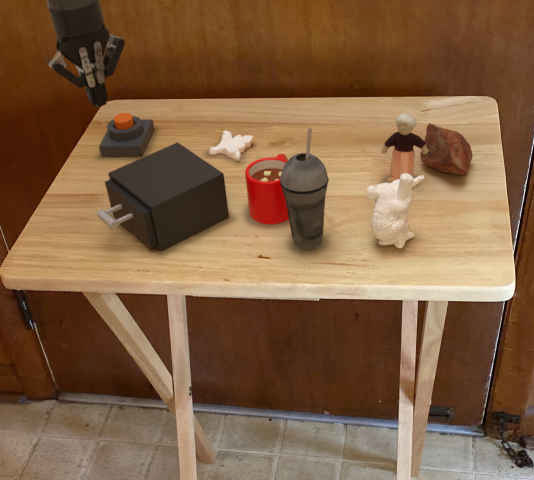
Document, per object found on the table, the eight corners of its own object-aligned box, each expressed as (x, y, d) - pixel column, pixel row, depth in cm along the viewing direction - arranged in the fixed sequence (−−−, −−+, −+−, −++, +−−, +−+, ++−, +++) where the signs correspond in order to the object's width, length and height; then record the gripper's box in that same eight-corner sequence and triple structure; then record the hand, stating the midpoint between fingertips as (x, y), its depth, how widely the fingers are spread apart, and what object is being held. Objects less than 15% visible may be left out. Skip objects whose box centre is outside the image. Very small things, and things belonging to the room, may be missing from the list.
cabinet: (160, 251, 130) (151, 207, 124) (118, 215, 139) (107, 172, 133) (229, 217, 136) (223, 173, 130) (184, 184, 144) (177, 142, 138)
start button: (131, 130, 153) (129, 122, 151) (113, 130, 153) (111, 122, 152) (136, 121, 155) (134, 112, 154) (118, 121, 156) (116, 112, 155)
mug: (307, 185, 141) (305, 145, 136) (289, 226, 133) (286, 185, 127) (263, 181, 143) (259, 142, 138) (243, 221, 135) (238, 180, 129)
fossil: (473, 174, 133) (451, 117, 131) (425, 193, 137) (403, 137, 135) (481, 161, 144) (461, 108, 142) (437, 178, 148) (416, 127, 146)
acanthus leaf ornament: (224, 136, 156) (223, 127, 154) (257, 142, 153) (256, 133, 152) (206, 155, 151) (204, 146, 150) (238, 161, 148) (238, 152, 147)
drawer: (128, 260, 128) (120, 224, 123) (91, 226, 135) (81, 191, 131) (215, 217, 135) (210, 182, 130) (175, 187, 142) (168, 153, 138)
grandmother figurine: (382, 188, 139) (383, 121, 130) (379, 176, 141) (381, 109, 133) (427, 185, 138) (432, 118, 130) (424, 173, 141) (428, 106, 132)
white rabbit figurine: (420, 228, 129) (424, 163, 121) (421, 254, 125) (425, 188, 117) (367, 227, 131) (367, 162, 123) (365, 253, 126) (365, 187, 118)
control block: (142, 156, 152) (138, 137, 150) (101, 156, 154) (96, 137, 151) (154, 129, 160) (151, 110, 157) (115, 129, 161) (111, 111, 158)
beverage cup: (285, 229, 132) (276, 117, 119) (330, 227, 132) (326, 115, 118) (284, 257, 127) (275, 143, 113) (331, 255, 126) (327, 141, 113)
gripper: (100, -23, 124) (123, 82, 136) (20, 4, 119) (52, 111, 131) (124, -10, 119) (146, 97, 131) (42, 19, 114) (73, 128, 126)
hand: (99, 104), depth 131 cm, fingers closed
